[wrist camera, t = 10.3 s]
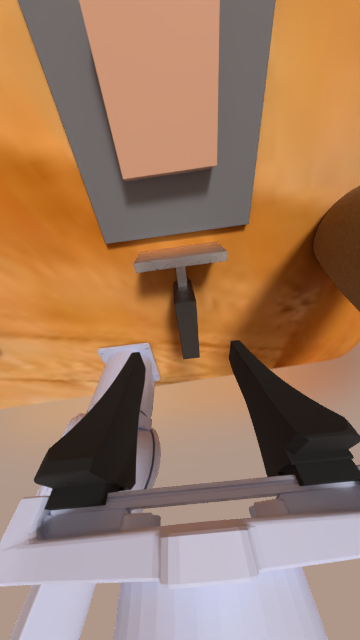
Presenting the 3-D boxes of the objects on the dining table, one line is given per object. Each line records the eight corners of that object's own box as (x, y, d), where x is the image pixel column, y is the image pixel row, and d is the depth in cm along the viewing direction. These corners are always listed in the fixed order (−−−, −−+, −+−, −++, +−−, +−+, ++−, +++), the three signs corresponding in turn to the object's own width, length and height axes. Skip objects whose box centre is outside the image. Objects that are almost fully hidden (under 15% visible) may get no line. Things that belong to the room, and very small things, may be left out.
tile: (217, 165, 12) (220, -37, 8) (123, 179, 12) (76, -11, 8) (212, 168, 13) (213, -4, 9) (127, 181, 13) (88, 17, 9)
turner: (214, 328, 24) (224, 354, 20) (161, 335, 24) (159, 362, 20) (216, 241, 17) (230, 254, 13) (140, 252, 17) (131, 267, 13)
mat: (246, 223, 16) (248, 224, 15) (107, 242, 16) (105, 243, 16) (320, -424, 5) (332, -476, 5) (-93, -323, 6) (-114, -366, 5)
